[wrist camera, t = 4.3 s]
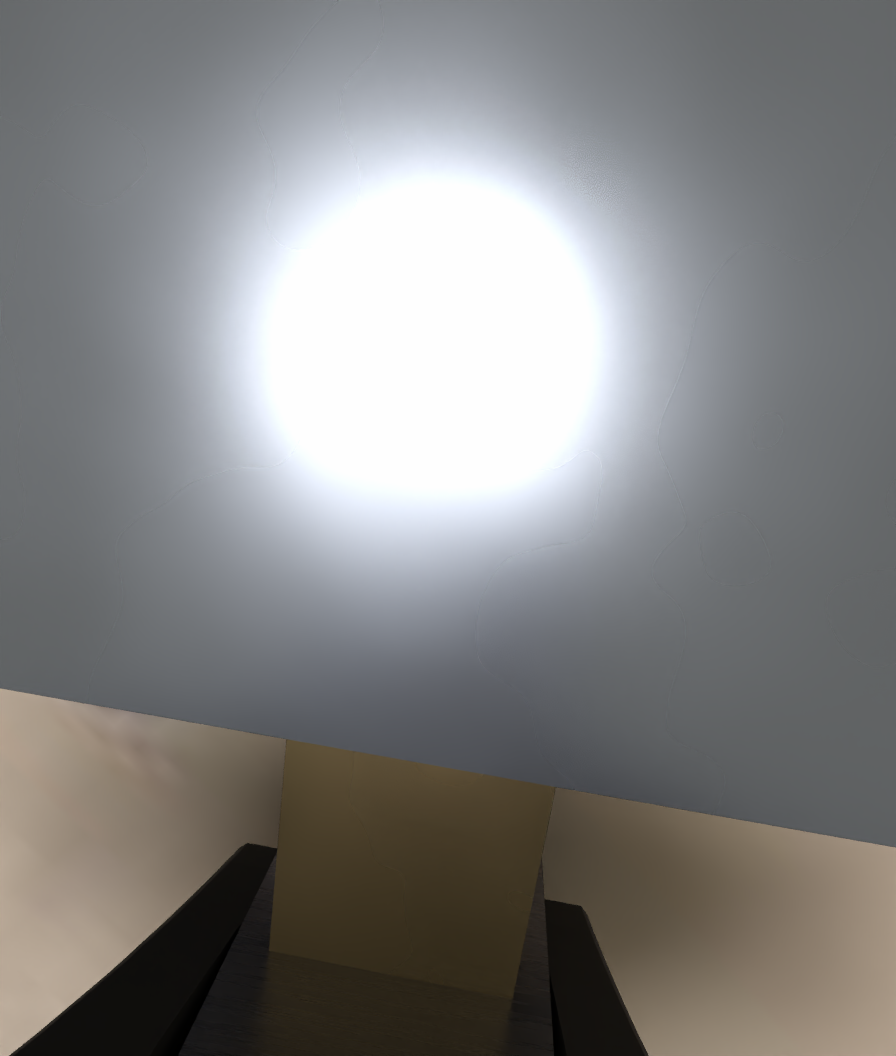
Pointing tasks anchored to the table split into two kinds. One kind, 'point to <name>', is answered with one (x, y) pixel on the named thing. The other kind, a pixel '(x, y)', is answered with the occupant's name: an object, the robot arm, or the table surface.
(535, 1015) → the two-tone block
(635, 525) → the grey square bracket
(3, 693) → the table surface
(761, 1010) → the table surface
